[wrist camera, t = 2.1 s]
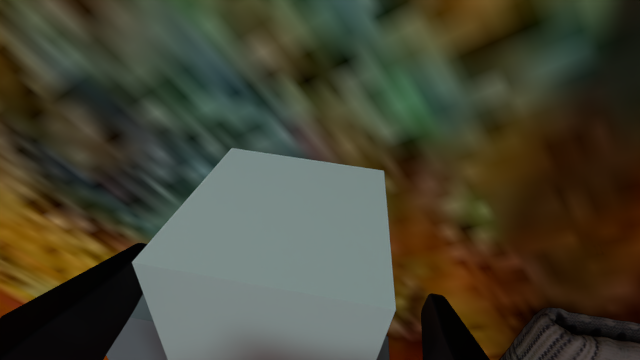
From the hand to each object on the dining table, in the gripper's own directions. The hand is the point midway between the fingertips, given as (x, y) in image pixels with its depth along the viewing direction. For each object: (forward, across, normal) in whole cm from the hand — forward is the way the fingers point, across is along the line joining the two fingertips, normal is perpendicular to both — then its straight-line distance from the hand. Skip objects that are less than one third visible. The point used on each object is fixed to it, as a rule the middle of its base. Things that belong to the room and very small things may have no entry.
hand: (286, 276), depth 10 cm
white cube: (+3, 0, 0) cm, 3 cm away
